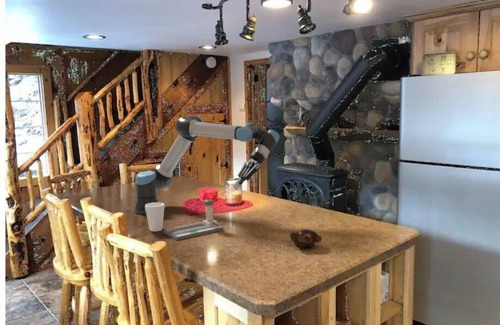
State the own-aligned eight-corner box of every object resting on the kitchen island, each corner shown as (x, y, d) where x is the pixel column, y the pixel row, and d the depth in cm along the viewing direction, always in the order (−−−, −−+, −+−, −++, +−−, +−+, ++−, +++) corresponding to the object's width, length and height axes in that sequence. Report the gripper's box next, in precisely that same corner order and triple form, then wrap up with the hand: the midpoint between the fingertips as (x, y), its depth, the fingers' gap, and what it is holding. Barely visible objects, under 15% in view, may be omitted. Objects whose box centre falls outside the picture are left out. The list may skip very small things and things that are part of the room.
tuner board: (164, 233, 202) (163, 227, 201) (210, 223, 217) (209, 218, 216) (176, 240, 190) (175, 234, 190) (223, 229, 205) (223, 224, 205)
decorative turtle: (284, 246, 180) (285, 228, 180) (313, 243, 186) (314, 226, 186) (295, 252, 171) (296, 233, 171) (325, 249, 178) (326, 230, 177)
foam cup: (146, 233, 202) (145, 207, 200) (146, 227, 211) (144, 203, 209) (166, 231, 205) (164, 206, 203) (164, 226, 213) (163, 201, 212)
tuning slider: (202, 224, 209) (201, 200, 208) (211, 222, 212) (210, 198, 210) (213, 229, 200) (212, 204, 199) (222, 227, 203) (221, 202, 202)
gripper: (248, 149, 225) (223, 182, 218) (262, 151, 215) (237, 186, 208) (256, 157, 229) (232, 191, 222) (270, 160, 218) (246, 195, 211)
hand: (234, 188), depth 215 cm, fingers closed
